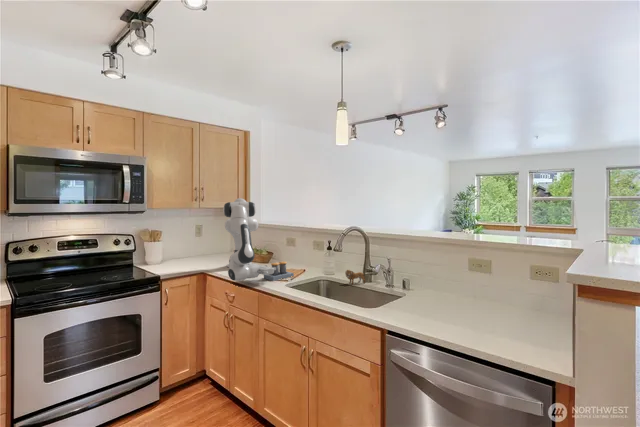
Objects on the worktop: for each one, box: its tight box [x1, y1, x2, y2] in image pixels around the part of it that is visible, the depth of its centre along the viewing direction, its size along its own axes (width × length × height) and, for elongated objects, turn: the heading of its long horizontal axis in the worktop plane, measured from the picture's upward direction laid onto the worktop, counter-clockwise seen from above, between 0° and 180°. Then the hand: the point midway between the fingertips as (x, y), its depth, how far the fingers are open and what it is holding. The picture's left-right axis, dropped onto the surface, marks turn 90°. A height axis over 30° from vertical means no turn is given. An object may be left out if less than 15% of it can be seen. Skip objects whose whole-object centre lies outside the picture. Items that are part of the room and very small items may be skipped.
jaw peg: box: [270, 262, 279, 276], centre depth 222 cm, size 6×6×10 cm
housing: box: [263, 270, 295, 282], centre depth 224 cm, size 11×17×2 cm, turn 135°
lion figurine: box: [345, 269, 367, 285], centre depth 207 cm, size 15×5×9 cm, turn 113°
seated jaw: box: [278, 261, 288, 274], centre depth 227 cm, size 6×6×10 cm
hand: (270, 267), depth 219 cm, fingers open, 8 cm apart
